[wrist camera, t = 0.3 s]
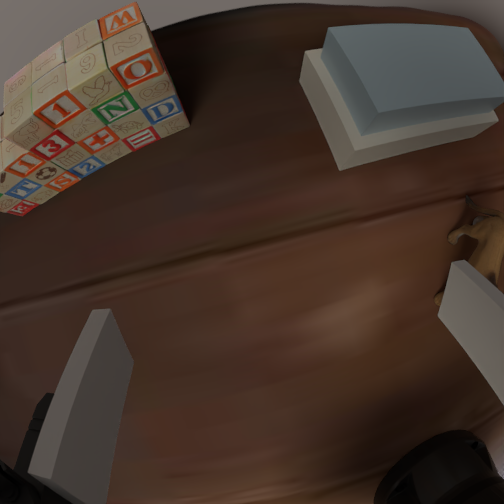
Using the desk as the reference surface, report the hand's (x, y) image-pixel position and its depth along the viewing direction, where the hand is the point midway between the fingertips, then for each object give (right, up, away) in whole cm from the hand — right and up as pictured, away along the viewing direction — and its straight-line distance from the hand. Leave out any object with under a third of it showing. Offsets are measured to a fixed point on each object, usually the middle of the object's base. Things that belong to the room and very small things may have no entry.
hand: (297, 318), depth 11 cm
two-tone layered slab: (+13, +17, +16) cm, 27 cm away
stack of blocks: (-18, +13, +17) cm, 28 cm away
